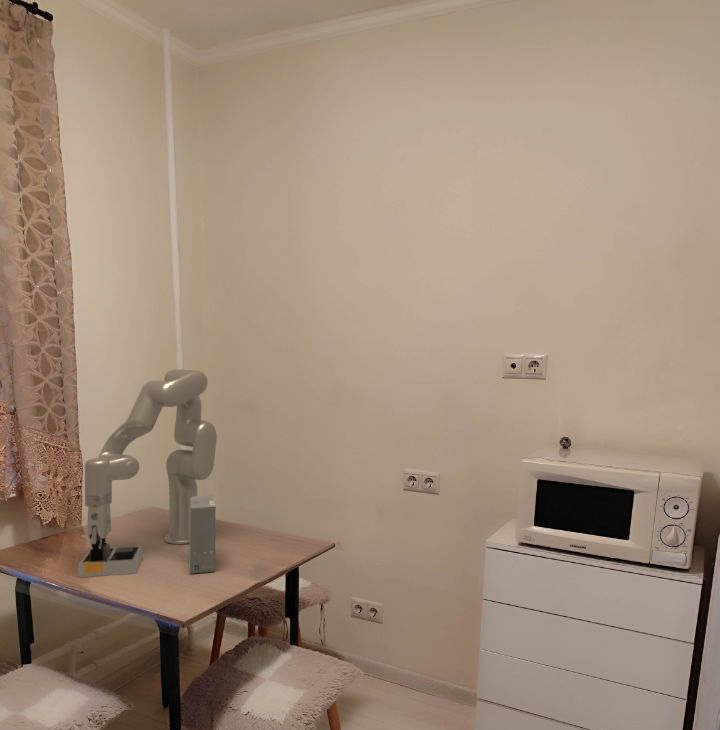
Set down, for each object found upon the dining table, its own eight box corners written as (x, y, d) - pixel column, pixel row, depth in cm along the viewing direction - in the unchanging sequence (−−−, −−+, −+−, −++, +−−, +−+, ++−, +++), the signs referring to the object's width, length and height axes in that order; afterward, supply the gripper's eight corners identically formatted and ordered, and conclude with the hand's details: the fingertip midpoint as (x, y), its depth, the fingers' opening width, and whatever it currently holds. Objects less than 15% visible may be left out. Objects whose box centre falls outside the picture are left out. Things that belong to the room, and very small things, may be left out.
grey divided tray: (142, 557, 185) (142, 541, 185) (135, 573, 172) (135, 556, 172) (89, 561, 182) (89, 544, 182) (77, 577, 169) (77, 559, 169)
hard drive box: (215, 572, 174) (215, 506, 173) (189, 575, 172) (189, 508, 171) (213, 554, 189) (213, 494, 188) (189, 556, 187) (189, 495, 186)
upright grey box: (111, 557, 179) (109, 543, 179) (108, 562, 175) (106, 547, 175) (94, 560, 178) (93, 546, 178) (91, 565, 174) (89, 550, 174)
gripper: (105, 505, 168) (105, 567, 169) (117, 492, 185) (117, 548, 185) (77, 507, 167) (78, 569, 167) (92, 493, 183) (92, 550, 184)
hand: (98, 557), depth 176 cm, fingers closed on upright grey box, 3 cm apart
